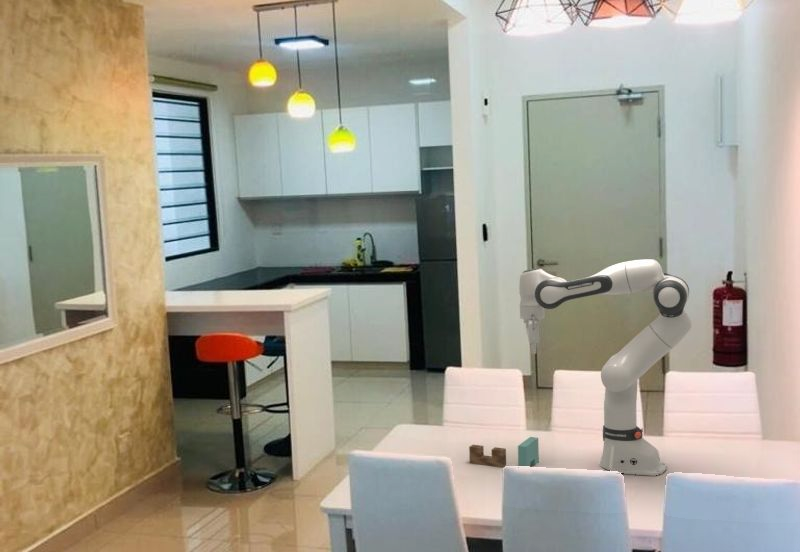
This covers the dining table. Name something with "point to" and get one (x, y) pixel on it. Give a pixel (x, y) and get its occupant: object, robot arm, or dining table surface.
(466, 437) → the dining table surface
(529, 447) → the cross plate
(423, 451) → the dining table surface
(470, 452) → the stand plate
